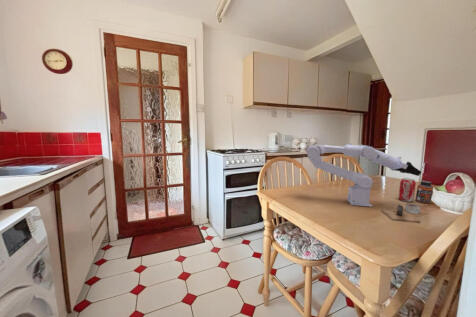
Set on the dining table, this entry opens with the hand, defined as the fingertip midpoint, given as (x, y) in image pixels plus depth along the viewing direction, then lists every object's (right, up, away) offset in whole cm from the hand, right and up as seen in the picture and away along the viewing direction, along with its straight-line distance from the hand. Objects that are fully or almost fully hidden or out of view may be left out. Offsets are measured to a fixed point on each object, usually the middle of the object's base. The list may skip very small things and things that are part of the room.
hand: (414, 172), depth 91 cm
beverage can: (+8, -16, +14) cm, 23 cm away
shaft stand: (-13, -19, -6) cm, 24 cm away
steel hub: (-2, -18, -1) cm, 18 cm away
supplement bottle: (+16, -17, +12) cm, 26 cm away
